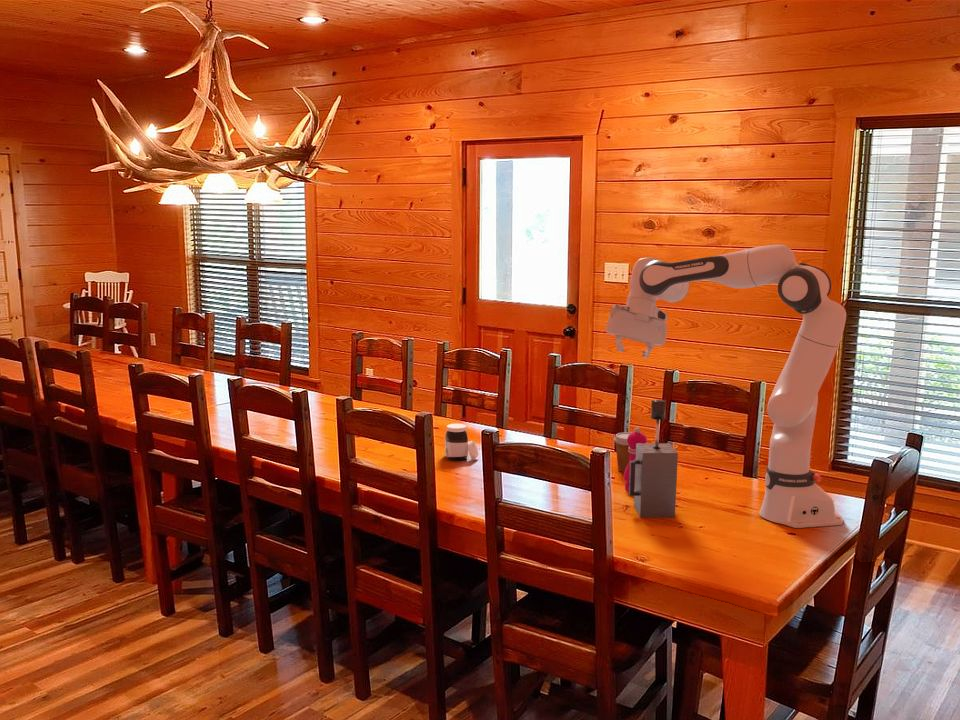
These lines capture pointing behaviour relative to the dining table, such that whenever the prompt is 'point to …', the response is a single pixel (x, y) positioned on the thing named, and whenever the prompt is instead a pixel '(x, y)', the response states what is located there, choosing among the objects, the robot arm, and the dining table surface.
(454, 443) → the spread jar
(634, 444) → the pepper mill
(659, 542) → the dining table surface
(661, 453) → the tall grey box
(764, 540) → the dining table surface
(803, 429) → the robot arm
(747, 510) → the dining table surface
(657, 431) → the press plunger
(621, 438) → the disposable coffee cup
